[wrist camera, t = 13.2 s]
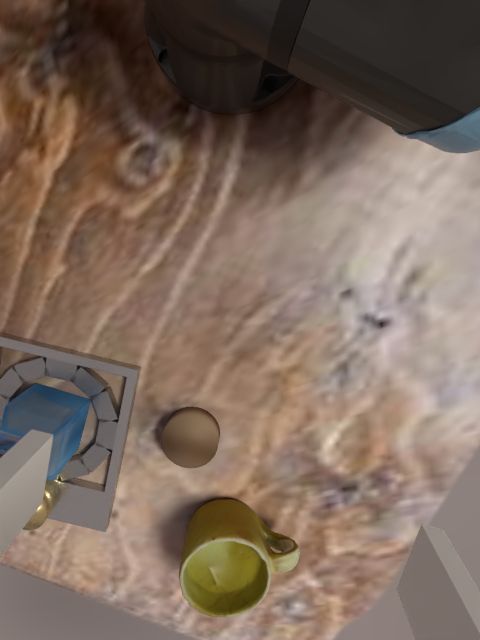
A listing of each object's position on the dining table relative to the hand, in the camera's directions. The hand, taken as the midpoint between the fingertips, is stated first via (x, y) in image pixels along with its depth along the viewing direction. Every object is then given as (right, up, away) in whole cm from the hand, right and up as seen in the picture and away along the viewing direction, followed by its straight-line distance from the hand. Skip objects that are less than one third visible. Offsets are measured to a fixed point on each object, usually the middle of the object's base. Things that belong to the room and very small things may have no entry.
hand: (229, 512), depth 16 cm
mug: (+1, -17, +36) cm, 40 cm away
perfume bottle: (-20, -4, +34) cm, 40 cm away
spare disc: (-5, -6, +34) cm, 35 cm away
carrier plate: (-20, -6, +35) cm, 41 cm away
